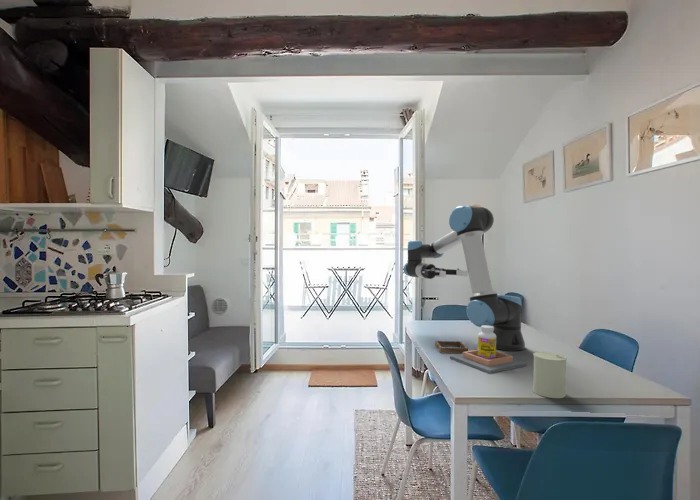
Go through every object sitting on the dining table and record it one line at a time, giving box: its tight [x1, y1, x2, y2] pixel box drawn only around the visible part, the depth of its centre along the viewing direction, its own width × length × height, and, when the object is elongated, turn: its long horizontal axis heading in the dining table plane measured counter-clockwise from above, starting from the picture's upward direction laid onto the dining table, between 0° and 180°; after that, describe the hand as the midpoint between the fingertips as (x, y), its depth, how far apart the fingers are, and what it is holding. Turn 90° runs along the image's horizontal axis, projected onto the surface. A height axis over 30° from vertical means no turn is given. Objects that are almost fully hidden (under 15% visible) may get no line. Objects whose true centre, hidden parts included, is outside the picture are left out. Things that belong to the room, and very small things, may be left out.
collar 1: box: [434, 340, 469, 354], centre depth 168 cm, size 12×12×2 cm
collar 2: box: [462, 349, 514, 366], centre depth 150 cm, size 13×13×2 cm
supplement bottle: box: [477, 325, 497, 360], centre depth 150 cm, size 7×7×13 cm
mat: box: [449, 353, 527, 374], centre depth 150 cm, size 20×20×1 cm
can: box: [532, 351, 567, 399], centre depth 120 cm, size 9×9×12 cm
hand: (456, 274), depth 179 cm, fingers open, 13 cm apart
